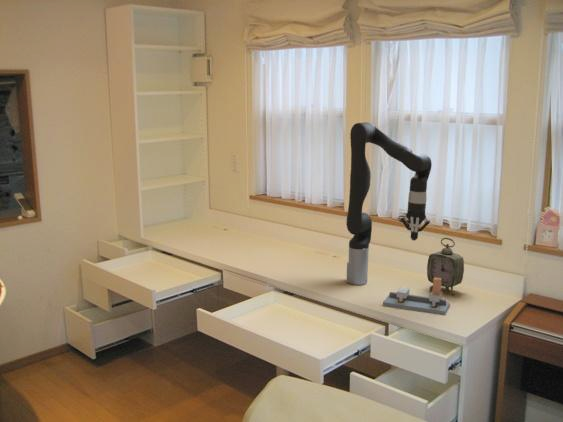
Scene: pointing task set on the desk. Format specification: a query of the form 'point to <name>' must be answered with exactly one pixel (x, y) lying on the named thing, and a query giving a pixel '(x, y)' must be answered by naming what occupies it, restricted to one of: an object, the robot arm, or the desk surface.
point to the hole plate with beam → (415, 302)
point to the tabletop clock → (446, 267)
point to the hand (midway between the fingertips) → (414, 239)
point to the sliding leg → (436, 291)
